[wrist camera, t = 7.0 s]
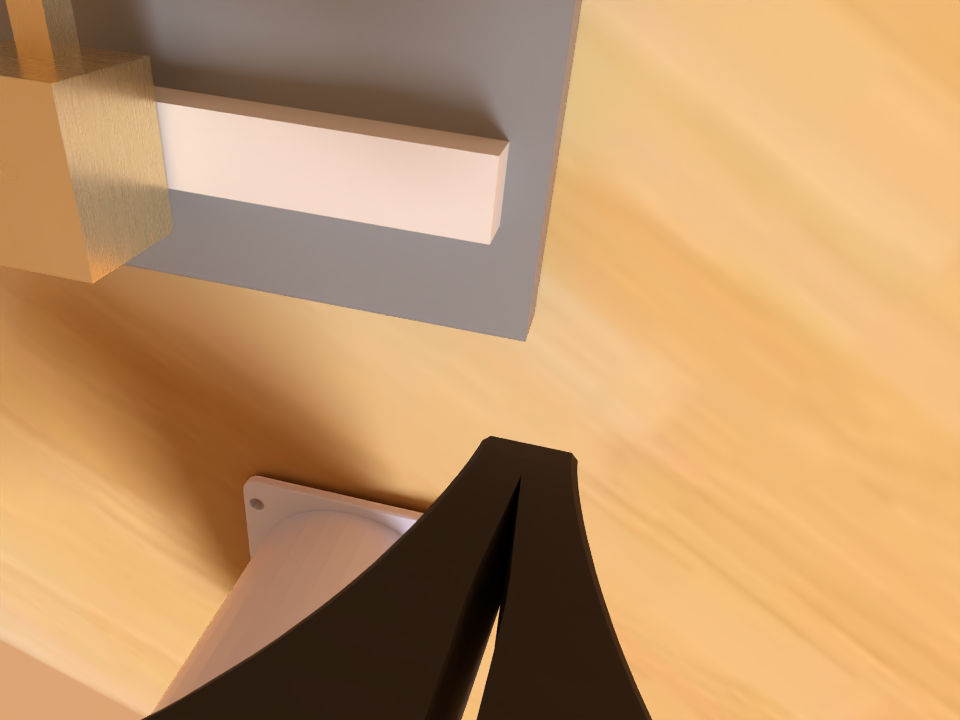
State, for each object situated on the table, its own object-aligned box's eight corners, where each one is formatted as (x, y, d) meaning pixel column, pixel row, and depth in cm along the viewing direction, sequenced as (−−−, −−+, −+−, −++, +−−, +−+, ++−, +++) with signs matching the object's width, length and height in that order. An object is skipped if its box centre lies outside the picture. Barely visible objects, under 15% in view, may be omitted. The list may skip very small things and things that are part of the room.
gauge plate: (534, 315, 20) (492, 439, 15) (-156, 186, 23) (-371, 257, 18) (619, -246, 14) (593, -329, 9) (-351, -327, 17) (-758, -422, 12)
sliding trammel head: (199, 214, 19) (92, 283, 15) (93, 195, 19) (-35, 258, 16) (158, -138, 15) (0, -154, 11) (25, -153, 15) (-167, -172, 12)
